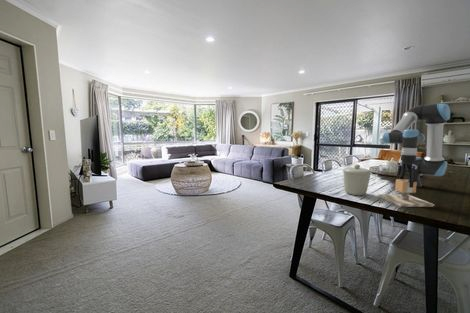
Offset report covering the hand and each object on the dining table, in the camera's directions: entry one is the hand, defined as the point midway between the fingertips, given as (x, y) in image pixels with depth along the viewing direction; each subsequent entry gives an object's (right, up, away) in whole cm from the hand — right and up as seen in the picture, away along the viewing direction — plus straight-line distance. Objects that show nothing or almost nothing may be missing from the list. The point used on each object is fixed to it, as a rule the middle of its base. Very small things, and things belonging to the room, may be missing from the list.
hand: (405, 190), depth 139 cm
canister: (-22, -5, +18) cm, 29 cm away
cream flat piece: (0, -7, +1) cm, 7 cm away
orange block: (0, 0, 0) cm, 0 cm away
